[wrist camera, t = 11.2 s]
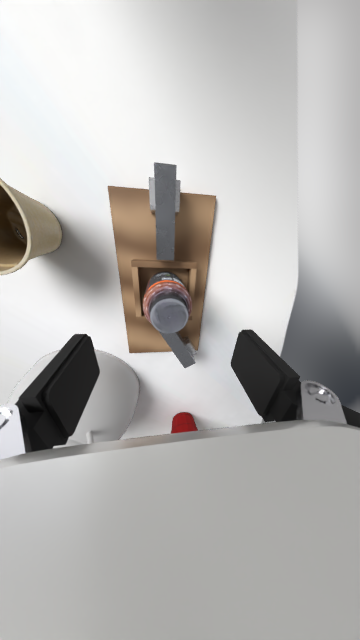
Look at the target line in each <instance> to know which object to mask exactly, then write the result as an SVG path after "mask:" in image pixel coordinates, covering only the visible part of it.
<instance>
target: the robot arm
mask: <svg viewBox="0 0 360 640" xmlns="http://www.w3.org/2000/svg"><path fill="white" fill-rule="evenodd" d="M231 367H232V369H233V370H234V372H235V374H236V376H237V377H238V379H239V381H240V383H241V385H242V386H243V388H244V390H245V392H246V393H247V395H248V397H249V399H250V400H251V402H252V404H253V406H254V407H255V409H256V411H257V413H258V414H259V415H260V416H262V418H263V419H264V421H265V422H269V421H274V420H275V421H276V422H272V423H262V424H253V425H244V426H235V427H226V428H217V429H208V430H199V431H190V432H182V433H173V434H165V435H156V436H147V437H139V438H131V439H123V440H114V441H106V442H98V443H89V444H82V445H75V446H68V447H61V448H53V447H54V446H59V445H66V443H67V441H68V438H69V437H70V436H72V435H73V434H74V432H75V430H76V427H77V425H78V423H79V421H80V418H81V416H82V414H83V411H84V409H85V407H86V405H87V402H88V400H89V398H90V395H91V393H92V391H93V388H94V386H95V384H96V382H97V379H98V377H99V374H100V369H99V365H98V361H97V358H96V354H95V351H94V347H93V343H92V340H91V337H90V336H88V335H87V334H75V335H73V336H72V338H71V339H70V340H69V341H68V342H67V343H66V344H65V346H64V347H63V348H62V349H61V350H60V351H59V352H58V353H57V355H56V356H55V357H54V358H53V359H52V360H51V361H50V363H49V364H48V365H47V366H46V367H45V368H44V369H43V370H42V372H41V373H40V374H39V375H38V376H37V377H36V378H35V379H34V381H33V382H32V383H31V384H30V385H29V386H28V387H27V389H26V390H25V391H24V392H23V393H22V394H21V395H20V396H19V400H18V401H17V402H16V403H15V405H14V404H4V405H0V640H360V413H358V412H355V411H353V410H351V409H349V408H347V407H344V406H342V405H341V404H340V401H339V399H338V398H337V396H336V395H335V394H334V393H333V392H332V391H331V390H329V389H328V388H327V387H325V386H323V385H321V384H319V383H317V382H314V381H308V380H307V381H303V382H302V383H301V382H300V381H299V378H300V376H299V375H298V374H297V373H296V372H295V371H294V370H293V369H292V368H290V366H289V365H287V363H286V362H285V361H283V360H282V359H281V358H280V357H279V356H278V355H277V354H276V353H275V352H274V351H273V350H272V349H271V348H270V347H269V346H268V345H267V344H266V343H265V342H264V341H263V340H262V339H261V338H260V337H259V336H258V335H257V334H256V333H255V332H254V331H253V330H242V331H241V332H239V334H238V338H237V342H236V345H235V349H234V353H233V356H232V360H231Z"/></svg>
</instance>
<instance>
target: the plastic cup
mask: <svg viewBox="0 0 360 640" xmlns="http://www.w3.org/2000/svg"><path fill="white" fill-rule="evenodd" d="M190 431H198V429H197V427H196V425H195V422H194V419H193V417H192V415H191V414H190V413H186V412H183V413H179V414H177V415H175V416H174V418H173V421H172V431H171V434H173V433H182V432H190Z"/></svg>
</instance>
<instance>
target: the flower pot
mask: <svg viewBox="0 0 360 640" xmlns="http://www.w3.org/2000/svg"><path fill="white" fill-rule="evenodd" d="M16 228H17V229H18V231H19V232H20V234H21V235H22V236H23V238H24V239H22V238H21V237H20V236H19V235H18V234H17V232H16ZM61 239H62V230H61V226H60V224H59V222H58V220H57V218H56V217H55V216H54V214H53V213H52V212H51V211H50V210H49V209H48V208H47V207H45V206H44V205H43V204H41V203H40V202H38V201H36V200H34V199H32V198H30V197H28V196H26V195H24V194H23V193H21V192H19V191H17V190H16V189H14V188H12V187H10V186H8V185H7V184H6V183H5V182H4V181H2V179H1V178H0V275H6V274H9V273H13V272H15V271H17V270H19V269H20V268H22V267H23V266H24V265H25V264H26V263H27V262H28V260H30V259H32V258H35V257H38V256H41V255H44V254H47V253H50V252H53V251H55V250H56V249H57V248H58V247H59V246H60V243H61Z"/></svg>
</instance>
